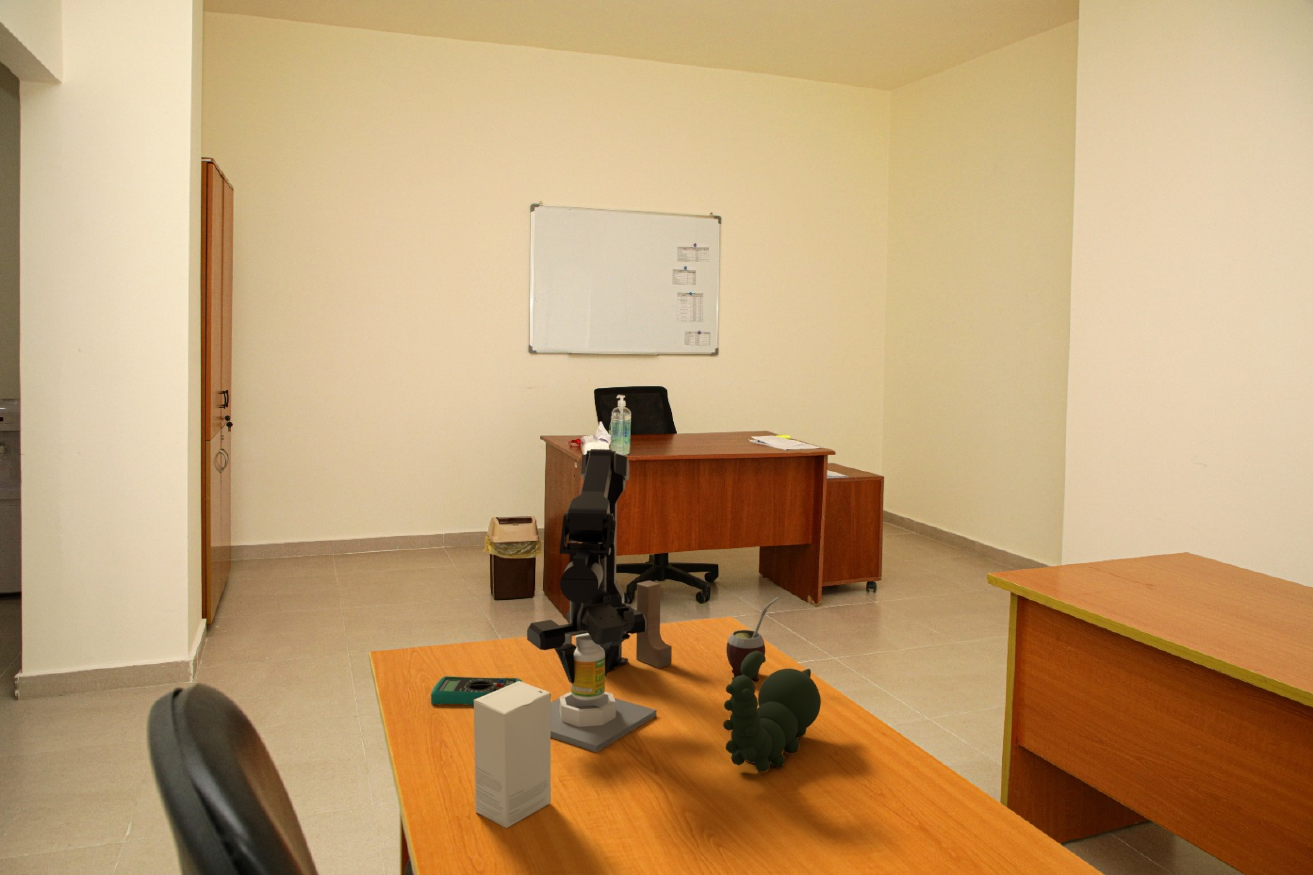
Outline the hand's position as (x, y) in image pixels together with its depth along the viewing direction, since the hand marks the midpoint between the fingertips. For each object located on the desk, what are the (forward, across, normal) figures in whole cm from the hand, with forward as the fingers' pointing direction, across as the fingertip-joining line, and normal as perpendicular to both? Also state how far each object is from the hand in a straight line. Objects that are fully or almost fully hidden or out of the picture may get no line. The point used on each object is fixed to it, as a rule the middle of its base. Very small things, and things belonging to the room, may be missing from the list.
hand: (587, 679), depth 145 cm
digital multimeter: (+8, -12, +18) cm, 23 cm away
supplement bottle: (+3, 0, 0) cm, 3 cm away
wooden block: (+7, +23, +17) cm, 29 cm away
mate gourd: (+7, +34, +2) cm, 35 cm away
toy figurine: (+7, +19, -24) cm, 31 cm away
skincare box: (+7, -21, -20) cm, 29 cm away
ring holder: (+7, 0, 0) cm, 7 cm away
